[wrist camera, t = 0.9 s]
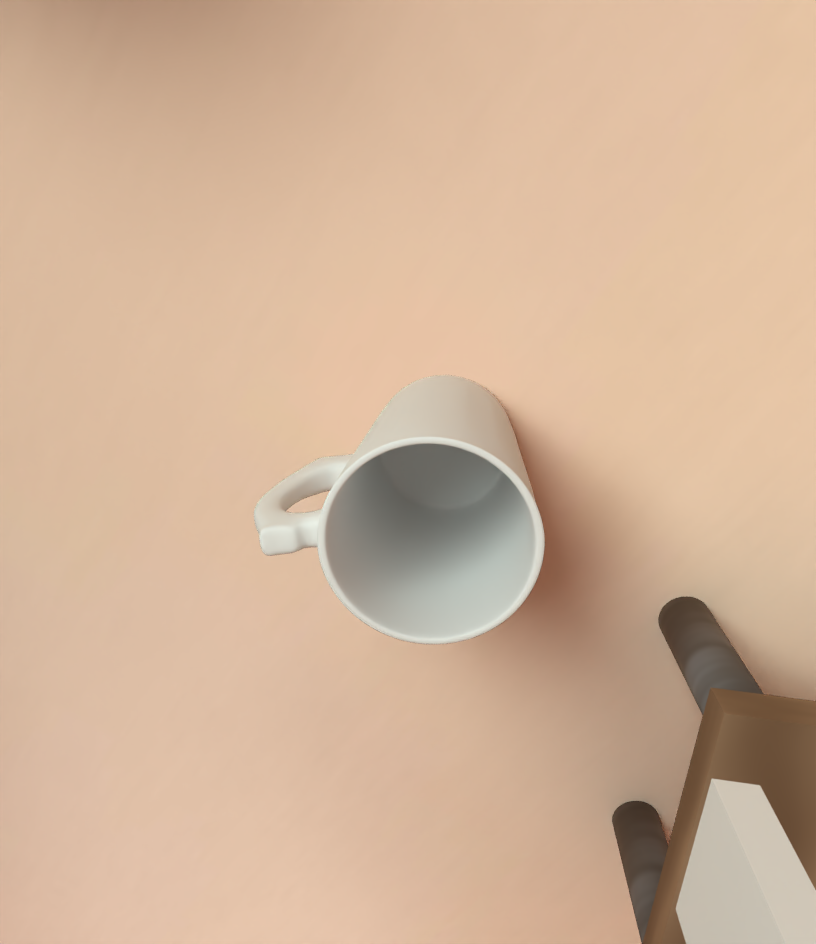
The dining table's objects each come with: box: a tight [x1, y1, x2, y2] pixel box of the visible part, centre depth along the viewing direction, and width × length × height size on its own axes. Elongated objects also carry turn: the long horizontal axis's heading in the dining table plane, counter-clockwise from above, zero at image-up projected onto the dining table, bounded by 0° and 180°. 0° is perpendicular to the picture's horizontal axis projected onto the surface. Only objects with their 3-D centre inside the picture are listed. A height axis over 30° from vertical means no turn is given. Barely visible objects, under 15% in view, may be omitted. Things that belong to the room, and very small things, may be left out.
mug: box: [254, 375, 545, 644], centre depth 27 cm, size 10×7×12 cm, turn 96°
